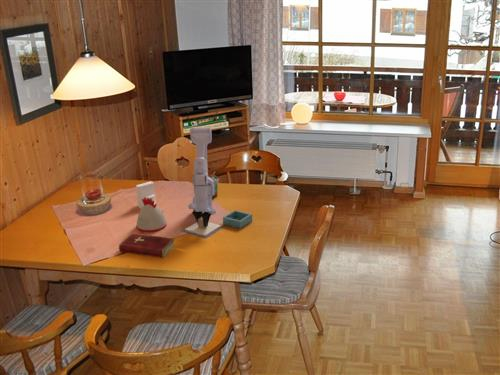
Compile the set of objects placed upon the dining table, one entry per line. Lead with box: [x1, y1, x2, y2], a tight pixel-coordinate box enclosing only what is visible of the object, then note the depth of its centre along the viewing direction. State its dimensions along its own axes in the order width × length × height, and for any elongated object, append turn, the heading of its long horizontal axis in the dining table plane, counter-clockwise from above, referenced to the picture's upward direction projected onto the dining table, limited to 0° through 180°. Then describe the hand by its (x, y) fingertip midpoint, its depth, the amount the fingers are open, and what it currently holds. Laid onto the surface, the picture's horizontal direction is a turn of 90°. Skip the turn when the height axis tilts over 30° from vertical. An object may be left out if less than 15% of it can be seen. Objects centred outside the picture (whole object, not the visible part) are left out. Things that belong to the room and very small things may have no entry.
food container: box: [209, 174, 220, 200], centre depth 302 cm, size 12×6×10 cm, turn 168°
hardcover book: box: [118, 232, 176, 259], centre depth 248 cm, size 12×21×4 cm, turn 72°
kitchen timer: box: [136, 197, 168, 234], centre depth 266 cm, size 14×14×15 cm
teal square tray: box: [222, 209, 253, 230], centre depth 270 cm, size 10×10×4 cm
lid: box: [184, 217, 221, 236], centre depth 264 cm, size 12×12×5 cm
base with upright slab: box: [136, 180, 157, 210], centre depth 291 cm, size 9×9×12 cm
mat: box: [180, 221, 227, 240], centre depth 265 cm, size 15×15×1 cm
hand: (202, 225), depth 264 cm, fingers closed on lid, 3 cm apart
